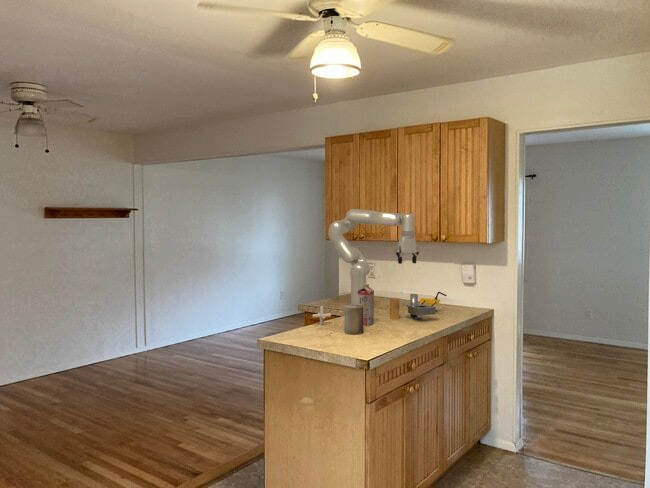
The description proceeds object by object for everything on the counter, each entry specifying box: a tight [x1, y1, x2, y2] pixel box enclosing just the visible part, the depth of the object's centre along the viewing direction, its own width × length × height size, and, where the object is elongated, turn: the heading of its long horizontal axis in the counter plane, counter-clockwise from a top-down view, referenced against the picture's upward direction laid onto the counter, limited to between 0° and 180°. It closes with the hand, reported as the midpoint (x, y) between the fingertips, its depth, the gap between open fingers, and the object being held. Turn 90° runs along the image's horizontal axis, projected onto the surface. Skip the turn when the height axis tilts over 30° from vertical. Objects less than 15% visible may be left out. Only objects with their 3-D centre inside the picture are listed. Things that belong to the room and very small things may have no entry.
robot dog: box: [418, 291, 447, 313], centre depth 315 cm, size 6×18×13 cm, turn 61°
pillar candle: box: [343, 304, 364, 335], centre depth 255 cm, size 10×10×15 cm
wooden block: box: [389, 297, 400, 320], centre depth 293 cm, size 4×4×12 cm
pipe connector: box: [311, 305, 332, 326], centre depth 274 cm, size 10×10×10 cm
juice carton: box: [358, 283, 375, 327], centre depth 274 cm, size 7×7×22 cm
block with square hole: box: [404, 293, 437, 320], centre depth 292 cm, size 12×18×14 cm, turn 24°
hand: (407, 263), depth 297 cm, fingers open, 9 cm apart
